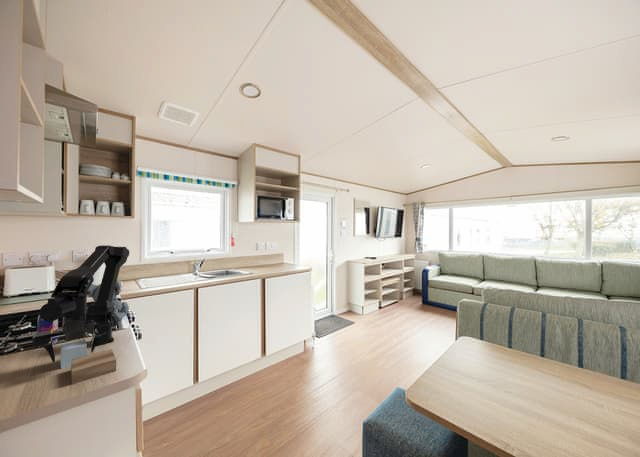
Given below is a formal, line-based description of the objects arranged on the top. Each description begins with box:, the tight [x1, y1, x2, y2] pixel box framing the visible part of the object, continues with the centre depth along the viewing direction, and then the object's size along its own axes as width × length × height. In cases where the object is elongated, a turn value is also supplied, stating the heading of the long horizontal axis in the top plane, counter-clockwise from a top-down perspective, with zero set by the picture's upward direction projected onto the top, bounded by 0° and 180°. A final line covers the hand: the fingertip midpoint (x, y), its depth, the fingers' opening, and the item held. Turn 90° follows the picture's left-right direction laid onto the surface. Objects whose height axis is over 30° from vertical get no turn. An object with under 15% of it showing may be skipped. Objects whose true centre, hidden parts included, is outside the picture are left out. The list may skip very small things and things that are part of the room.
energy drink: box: [36, 314, 59, 348], centre depth 97 cm, size 5×5×12 cm
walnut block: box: [70, 348, 117, 385], centre depth 80 cm, size 10×10×4 cm
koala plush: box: [86, 279, 130, 321], centre depth 123 cm, size 17×18×20 cm
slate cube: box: [59, 339, 88, 369], centre depth 85 cm, size 6×6×6 cm
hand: (73, 356), depth 85 cm, fingers open, 9 cm apart
